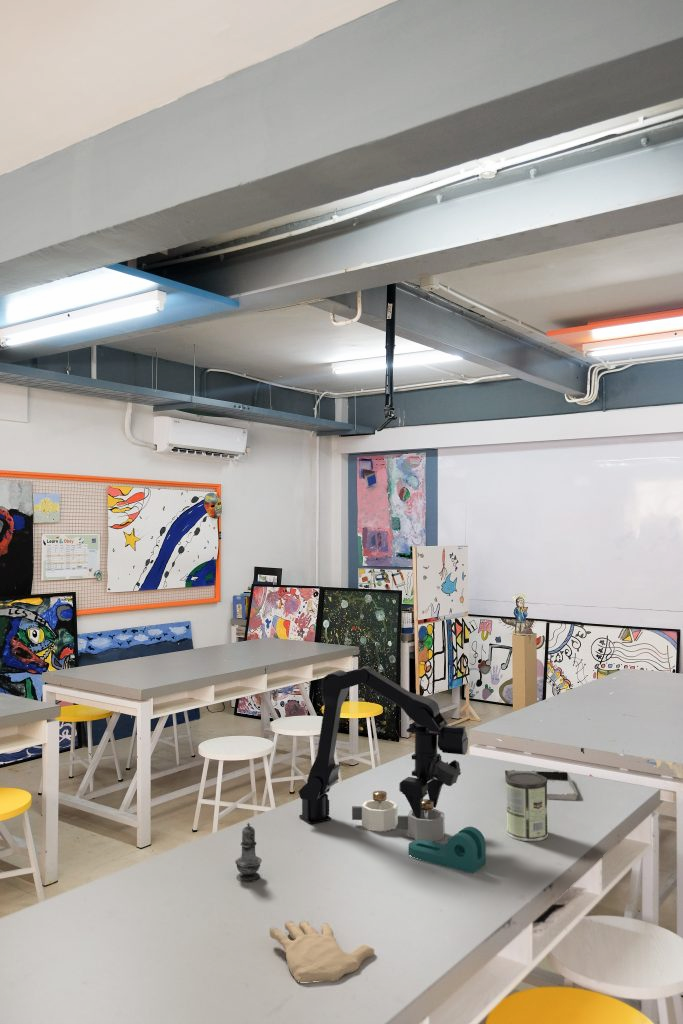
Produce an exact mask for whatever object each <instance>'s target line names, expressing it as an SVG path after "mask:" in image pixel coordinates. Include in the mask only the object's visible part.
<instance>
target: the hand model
mask: <svg viewBox="0 0 683 1024" xmlns="http://www.w3.org/2000/svg"><path fill="white" fill-rule="evenodd" d="M320 927H321V934H319V933H318V930H317V929H316V928H315V927H314V926H311V925H310V923H309V921H308V920H306V919H301V920H300V921H299V923H298V924H296V923H295V922H294V920H293V919H290V918H288V919H286V920H285V922H284V928H285V930H286V931H287V932H288V934H289V935H290V937H291V938H292V939H293V940H291V939H290V938H289V937H288V936H287V935H285V934H284V933H283V932H282V931H281V929H279V928H278V927H277V926H275V925H270V926H269V936H270V938H271V939H272V940H273V939H274V940H276V941H277V943H279V944H280V946H282V947H283V949H284V951H285V957H286V962H287V966H288V968H289V970H290V971H289V972H290V973H291V975H292V977H293V976H294V977H293V978H294V979H295V981H296V980H297V981H299V982H313V981H328V982H329V981H334V980H337V981H339V980H340V979H341V978H342V977H343V976H344V975H347V974H351V973H355V972H356V971H358V969H359V968H360V966H361V964H362V962H363V961H364V960H365V959H368V958H370V957H373V956H374V955H375V949H374V948H373V947H371V946H369V945H367V944H363V945H360V946H358V947H357V948H355V949H354V950H353V951H352V952H349V953H348V952H346V951H344V950H343V949H342V948H341V947H340V945H339V944H338V943H337V941H336V939H335V938H334V932H333V929H332V928H331V926H330V924H329V923H326V922H324V923H322V924H321V926H320ZM339 978H340V979H339ZM297 981H296V982H297ZM334 982H335V981H334Z"/></svg>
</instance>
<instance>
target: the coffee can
mask: <svg viewBox="0 0 683 1024" xmlns="http://www.w3.org/2000/svg"><path fill="white" fill-rule="evenodd" d="M505 785H506V788H505V789H506V834H507V835H508V836H509V837H510V838H512V839H514V840H516V841H523V842H540V841H543V840H545V839H547V838H548V836H549V834H548V799H547V794H548V779H547V778H546V777H544V776H542V775H539V774H534V773H513V774H509V775H507V776H506V779H505Z"/></svg>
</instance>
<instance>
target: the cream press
mask: <svg viewBox="0 0 683 1024" xmlns="http://www.w3.org/2000/svg"><path fill="white" fill-rule="evenodd" d="M398 808H399V807H398V803H396V802H394V801H392V800H390V799H387V800H385V801H381V810H378V801H375V800H373V799H370V800H364V802H363V804H361V805H359V806H356V805H355V806H354V805H353V806H351V820H352V821H354V820H355V821H361V827H363V828H364V829H366V830H368V831H370V830H372V831H373V832H382V831H384V832H388V831H392V830H391V829H393V830H395V829H396V828H397V827H398V824H397V823H398V811H399V809H398ZM394 828H395V829H394ZM387 830H388V831H387ZM372 831H371V832H372Z"/></svg>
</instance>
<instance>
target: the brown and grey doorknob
mask: <svg viewBox="0 0 683 1024" xmlns="http://www.w3.org/2000/svg"><path fill="white" fill-rule="evenodd" d="M387 795H388V793H387V792H386V791H384V790H375V791H374V790H373V792H372V800H375V801H378V810H381V801H385V800H388V799H387Z"/></svg>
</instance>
